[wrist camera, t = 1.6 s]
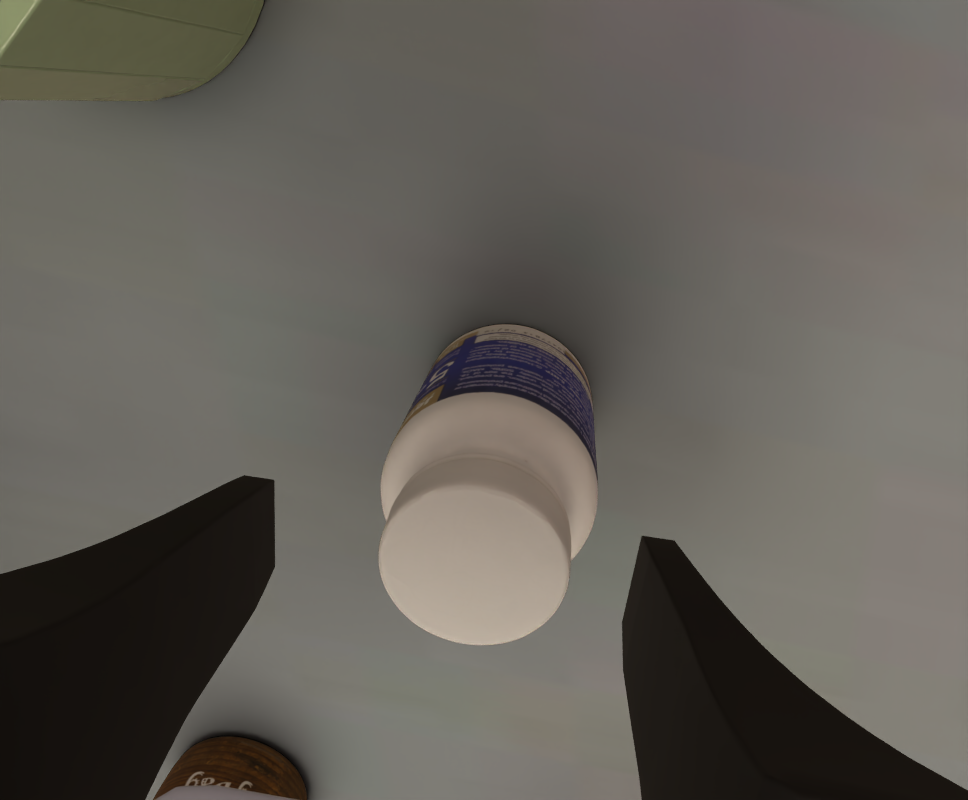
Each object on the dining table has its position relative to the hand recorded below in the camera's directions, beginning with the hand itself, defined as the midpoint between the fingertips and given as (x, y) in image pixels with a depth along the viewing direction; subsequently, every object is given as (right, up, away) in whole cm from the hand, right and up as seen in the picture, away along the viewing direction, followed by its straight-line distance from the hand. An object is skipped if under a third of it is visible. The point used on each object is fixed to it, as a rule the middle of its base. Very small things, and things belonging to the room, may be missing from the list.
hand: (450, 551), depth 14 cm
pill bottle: (+1, +3, +9) cm, 10 cm away
